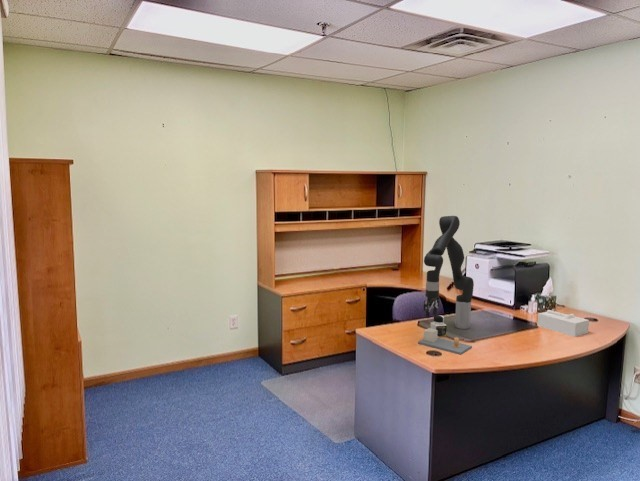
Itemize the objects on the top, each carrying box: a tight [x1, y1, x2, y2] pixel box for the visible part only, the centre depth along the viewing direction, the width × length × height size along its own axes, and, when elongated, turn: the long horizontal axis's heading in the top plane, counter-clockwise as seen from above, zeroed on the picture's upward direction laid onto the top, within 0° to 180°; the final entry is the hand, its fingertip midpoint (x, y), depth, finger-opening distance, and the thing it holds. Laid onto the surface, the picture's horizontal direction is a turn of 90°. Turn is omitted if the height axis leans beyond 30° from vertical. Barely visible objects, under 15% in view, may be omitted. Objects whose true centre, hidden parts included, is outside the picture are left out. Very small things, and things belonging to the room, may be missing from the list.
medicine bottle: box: [430, 314, 448, 338], centre depth 289 cm, size 7×7×12 cm
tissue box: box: [536, 309, 590, 338], centre depth 302 cm, size 14×25×11 cm, turn 31°
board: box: [417, 336, 473, 355], centre depth 271 cm, size 14×26×6 cm, turn 48°
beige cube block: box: [423, 327, 438, 342], centre depth 277 cm, size 6×6×6 cm
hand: (431, 316), depth 275 cm, fingers open, 8 cm apart
